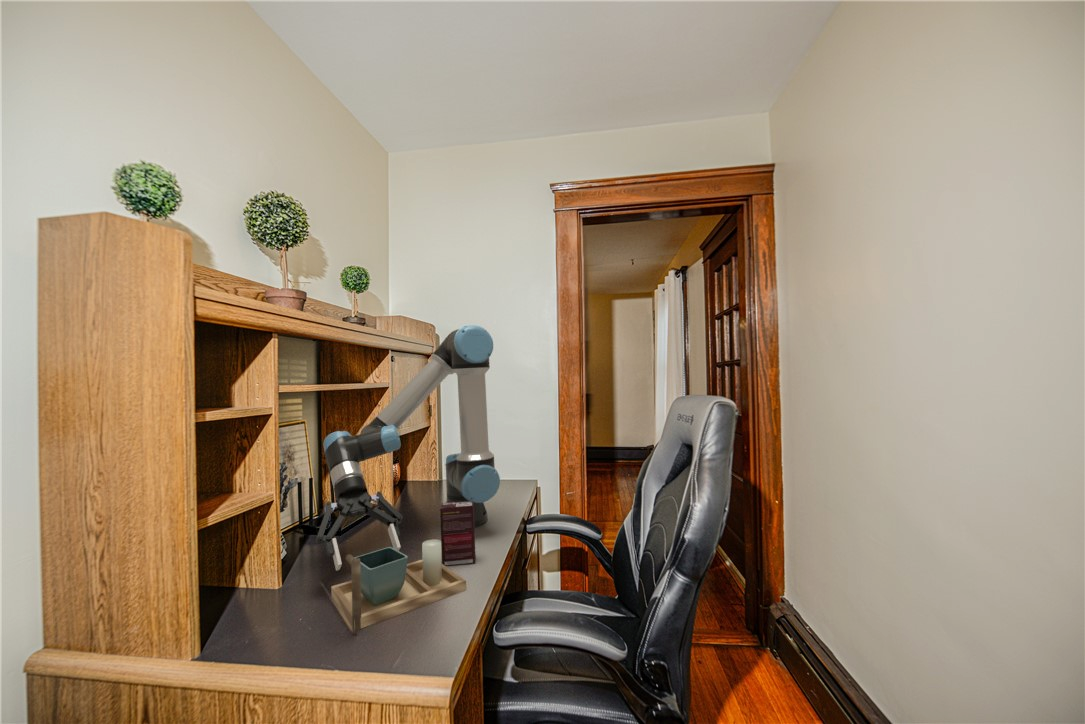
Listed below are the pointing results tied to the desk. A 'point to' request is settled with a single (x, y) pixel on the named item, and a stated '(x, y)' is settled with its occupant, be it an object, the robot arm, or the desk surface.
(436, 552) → the pillar candle
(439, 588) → the caddy
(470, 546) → the supplement box
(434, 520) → the desk surface
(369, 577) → the flower pot
